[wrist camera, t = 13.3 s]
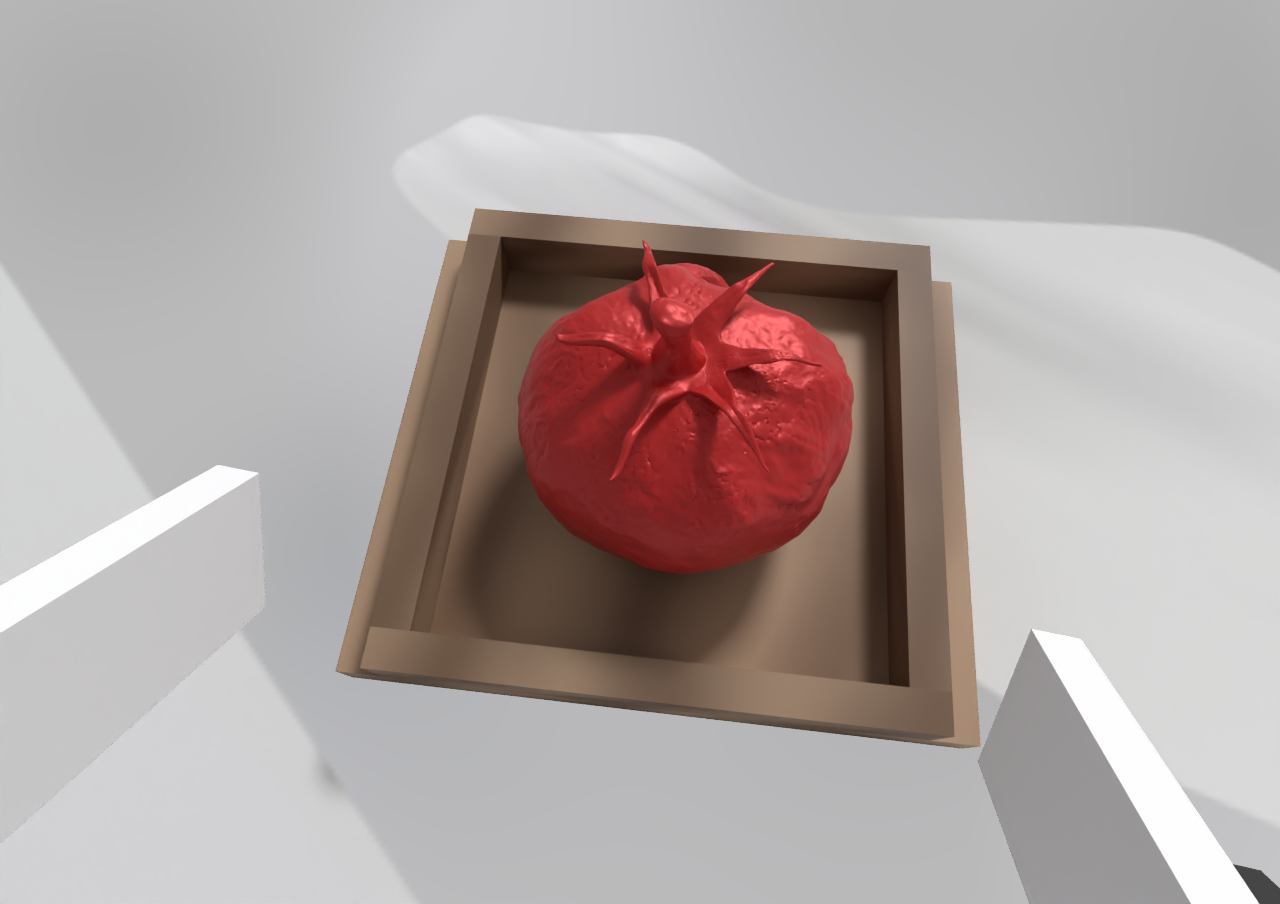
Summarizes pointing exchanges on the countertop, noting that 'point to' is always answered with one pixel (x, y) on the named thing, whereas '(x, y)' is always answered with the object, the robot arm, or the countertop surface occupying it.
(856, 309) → the tray
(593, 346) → the pomegranate
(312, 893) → the countertop surface
